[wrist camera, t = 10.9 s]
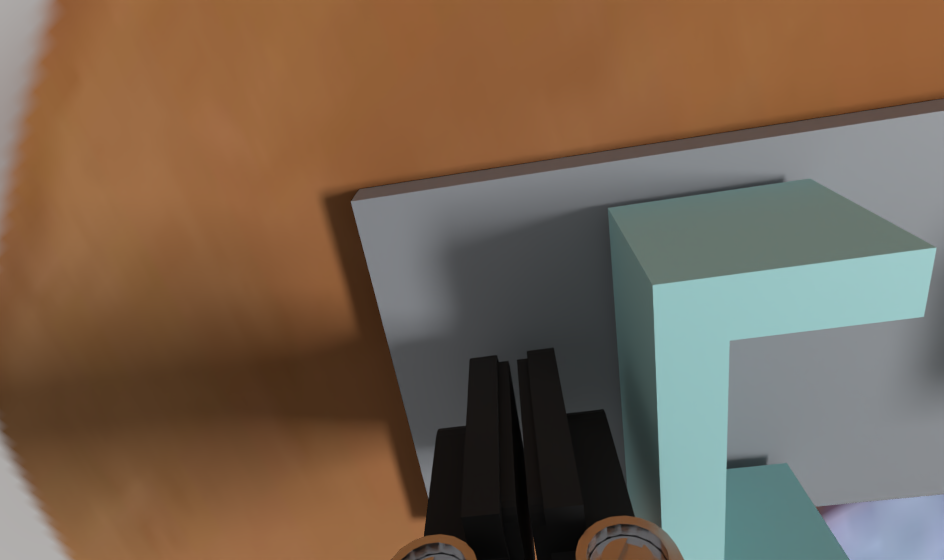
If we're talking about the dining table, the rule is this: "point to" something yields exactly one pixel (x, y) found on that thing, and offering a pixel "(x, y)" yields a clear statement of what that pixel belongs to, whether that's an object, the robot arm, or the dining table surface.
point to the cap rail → (593, 311)
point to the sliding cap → (732, 318)
